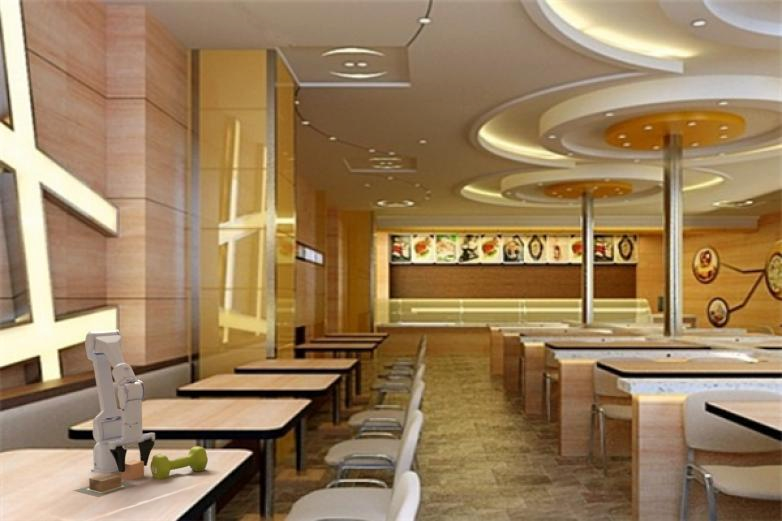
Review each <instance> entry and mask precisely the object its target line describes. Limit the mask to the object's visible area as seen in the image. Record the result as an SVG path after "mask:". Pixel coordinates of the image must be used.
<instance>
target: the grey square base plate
mask: <svg viewBox="0 0 782 521" xmlns="http://www.w3.org/2000/svg"><path fill="white" fill-rule="evenodd" d="M136 486H138V485H137V484H132V483H128V482H124V481H121V487H118V488H115V489H111V490H108V491H104V492H99V491H95V490H91V489H89V485H88V486H85V487H81V488H77V489H74V490H73V491H74V492H76V493H81V494H85V495H89V496H93V497H97V498H101V497H103V496H104V497H105V496H106V495H110V494H113V493H117V492H119V491H124V490H127V489H130V488H132V487H133V488H134V487H136Z"/></svg>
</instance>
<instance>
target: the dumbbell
mask: <svg viewBox="0 0 782 521" xmlns="http://www.w3.org/2000/svg"><path fill="white" fill-rule="evenodd" d="M208 460H209V458H208V454H207V451H206V449H205V448H204V447H202V446H198V445H196V446H193V447H191V448H190V450H189V452H188V455H186V456H182V457H177V458H173V459H169V458H168V457H167V455H165V454H161V453H160V454H155V455H153V456H152V458H151V462H150V466H149V467H150V472H151V476H152V478H154V479H156V480H164V479H167V478H169V476H170V474H171V471H174V470H179V469H183V468H186V467H187V468H188V467H189V468H190V469H191V470H192V471H193V472H203V471H205V470H206V468H207V465H208Z"/></svg>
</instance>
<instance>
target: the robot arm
mask: <svg viewBox="0 0 782 521" xmlns="http://www.w3.org/2000/svg"><path fill="white" fill-rule="evenodd" d="M122 343H123V336H122V333H121V332H120V331H119V329H114V330H112V329H111V330H99V331H88V332H87V333H86V336H85V340H84V345H85V351H86V355H87V359H88V360H89V361H92V364H93V365H92V366H93V370H94V376H95V384H96V390H97V395H98V396H97V397H98V402H99V408H100V412H99V413H98V414H97V415H96V416H95V417H94V418H93V421H92V427H93V428H92V436H93V439H94V441H95V442H96V443H95V445H94V446H93V455H92V456H93V460H92V461H93V467H92V468H90V470H91V471H93V472H97V471H98V472H102V473H105V474H108V473H110V474H111V473H114V472H117V471H118V473H119V472H120V473H122V472H125V462H126V456H127V451H128V449H126V448H125V447H126V446H130V445H135V444H137V446H138V448H139V449H138V450H139V459H140V460H139V461H144V467H147V466H148V462H149V459H150V455H151V452H152V449H153V448H154V446H155V439H156V433H155V432H148V433H143V400H144V399H145V398H146V387H145V383H144V382H143V381H141V380H140V379H139V378H137V377H136V375H135V373H134V370H133V368H132V366H131V365H130V364H129V363H126V361H125V358H124V356H123V352H122V350H121V348H122ZM111 366H112V367H111ZM112 368H113V369H112ZM113 379H114V380H113ZM114 382H115V384H116V386H117V388H118V389H117V398H118V401H119V408H120V409H121V410H120V409H119V408H118V405H117V400H116V392H115V387H114V386H115V385H114Z"/></svg>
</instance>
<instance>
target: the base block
mask: <svg viewBox="0 0 782 521" xmlns="http://www.w3.org/2000/svg"><path fill="white" fill-rule="evenodd" d="M88 480H89V482H88V483H89V484H88V486H89V489H91V490H95V491H99V492H104V491H108V490H111V489H115V488H118V487H121V482H122V475H118V474H114V473H111V472H110V473H105V474H101V475H97V476H93V477H89V479H88Z"/></svg>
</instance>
